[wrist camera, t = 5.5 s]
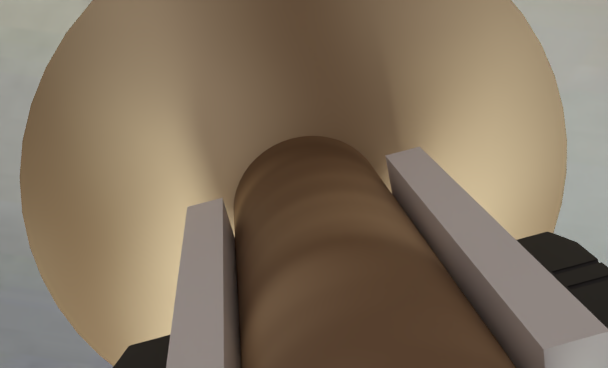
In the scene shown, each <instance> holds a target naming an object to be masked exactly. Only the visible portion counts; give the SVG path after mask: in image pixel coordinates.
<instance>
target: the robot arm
mask: <svg viewBox="0 0 608 368" xmlns="http://www.w3.org/2000/svg"><path fill="white" fill-rule="evenodd" d="M385 157H386V162H387V168H388V173H389V179H390V184H391V190H392V195H393V196H394V197H395V199H396V200H397V202H398V203H399V204H400V206H401V207H402V209H403V210H404V211H405V213H406V214H407V216H408V217H409V218H410V220H411V221H412V222H413V224H414V225H415V227H416V228H417V229H418V231H419V232H420V234H421V235H422V236H423V238H424V239H425V241H426V242H427V243H428V245H429V246H430V248H431V249H432V250H433V252H434V253H435V255H436V256H437V257H438V259H439V260H440V262H441V263H442V264H443V266H444V267H445V269H446V270H447V271H448V273H449V274H450V276H451V277H452V278H453V280H454V281H455V283H456V284H457V285H458V287H459V288H460V290H461V291H462V292H463V294H464V295H465V297H466V298H467V299H468V301H469V302H470V304H471V305H472V306H473V308H474V309H475V311H476V312H477V313H478V315H479V316H480V318H481V319H482V320H483V322H484V323H485V325H486V326H487V327H488V329H489V330H490V332H491V333H492V334H493V336H494V337H495V339H496V340H497V341H498V343H499V344H500V346H501V347H502V348H503V350H504V351H505V353H506V354H507V355H508V357H509V358H510V359H511V361H512V362H513V364H514V365H515V366H516V368H608V267H607V266H605V265H604V264H603V263H602V262H601V263H599V262H598V259H597V258H596V257H594V256H593V255H592V254H591V253H589V252H588V251H587V250H586V249H584V248H583V247H582V246H581V245H579V244H578V243H577V242H575V241H572V240H569V239H567V238H564V237H561V236H559V235H556V234H553V233H551V232H548V231H547V232H544V233H540V234H536V235H532V236H529V237H525V238H521V239H517V240H516V239H515V238H514V237H512V236H511V235H510V234H509V233H508V232H507V231H506V230H505V229H504V228H503V227H502V226H501V225H500V224H499V223H498V222H497V221H496V220H495V219H494V218H493V217H492V216H491V215H490V214H489V213H488V212H487V211H486V210H485V209H484V208H483V207H482V206H480V205H479V204H478V203H477V202H476V201H475V200H474V199H473V198H472V197H471V196H470V195H469V194H468V193H467V192H466V191H465V190H464V189H463V188H462V187H461V186H460V185H459V184H458V183H457V182H456V181H455V180H454V179H453V178H452V177H451V176H449V175H448V174H447V173H446V172H445V171H444V170H443V169H442V168H441V167H440V166H439V165H438V164H437V163H436V162H435V161H434V160H433V159H432V158H431V157H430V156H429V155H428V154H427V153H426V152H425V151H424V150H423V149H422V148H421V147H416V148H412V149H409V150H405V151H401V152H397V153H393V154H389V155H385ZM113 368H241V350H240V330H239V310H238V290H237V270H236V250H235V237H234V234H233V230H232V227H231V224H230V220H229V217H228V214H227V211H226V207H225V204H224V201H223V198H220V199H216V200H212V201H208V202H204V203H200V204H196V205H193V206H189V207H187V213H186V220H185V228H184V235H183V243H182V250H181V258H180V266H179V273H178V281H177V288H176V296H175V303H174V311H173V318H172V326H171V334H170V335H167V336H163V337H159V338H156V339H152V340H148V341H145V342H141V343H137V344H133V345H130V346H128V348H127V349H126V350H125V352H124V353H123V354H122V356H121V357H120V359H119V360H118V361H117V363H116V364H115V365H114V367H113Z"/></svg>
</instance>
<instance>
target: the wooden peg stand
mask: <svg viewBox="0 0 608 368" xmlns="http://www.w3.org/2000/svg"><path fill="white" fill-rule="evenodd" d="M416 147H421V148H422V149H423V150H424V151H425V152H426V153H427V154H428V155H429V156H430V157H431V158H432V159H433V160H434V161H435V162H436V163H437V164H438V165H439V166H440V167H441V168H442V169H443V170H444V171H445V172H446V173H447V174H448V175H449V176H451V177H452V178H453V179H454V180H455V181H456V182H457V183H458V184H459V185H460V186H461V187H462V188H463V189H464V190H465V191H466V192H467V193H468V194H469V195H470V196H471V197H472V198H473V199H474V200H475V201H476V202H477V203H478V204H479V205H480V206H482V207H483V208H484V209H485V210H486V211H487V212H488V213H489V214H490V215H491V216H492V217H493V218H494V219H495V220H496V221H497V222H498V223H499V224H500V225H501V226H502V227H503V228H504V229H505V230H506V231H507V232H508V233H509V234H510V235H511V236H512V237H514V238H515V239H516V240H517V239H521V238H525V237H529V236H532V235H536V234H540V233H544V232H547V231H548V232H551V233H553V232H554V229H555V225H556V222H557V218H558V215H559V211H560V208H561V204H562V198H563V191H564V184H565V178H566V159H567V138H566V129H565V121H564V112H563V106H562V102H561V98H560V95H559V91H558V87H557V83H556V79H555V76H554V73H553V71H552V69H551V66H550V64H549V62H548V59H547V57H546V55H545V52H544V50H543V47H542V45H541V43H540V42H539V40H538V38H537V37H536V35H535V33H534V32H533V30H532V29H531V27H530V25H529V24H528V22H527V20H526V19H525V17H524V15H523V14H522V13H521V12H520V10H519V9H518V8H517V7H516V6H515V4H514V3H513V2H512V1H511V0H93V1H92V2H91V3H90V4H89V6H88V7H87V8H86V9H85V11H84V12H83V13H82V14H81V16H80V17H79V18H78V19H77V20H76V22H75V23H74V24H73V25H72V27H71V28H70V29H69V30H68V32H67V33H66V34H65V36H64V38H63V39H62V41H61V43H60V45H59V46H58V48H57V50H56V51H55V53H54V55H53V57H52V58H51V60H50V62H49V63H48V65H47V67H46V69H45V71H44V74H43V76H42V79H41V81H40V84H39V86H38V89H37V91H36V94H35V96H34V99H33V101H32V104H31V108H30V112H29V116H28V120H27V125H26V129H25V133H24V137H23V143H22V156H21V169H20V187H21V201H22V214H23V218H24V222H25V227H26V231H27V236H28V240H29V245H30V248H31V251H32V253H33V256H34V259H35V261H36V264H37V266H38V269H39V272H40V274H41V277H42V279H43V281H44V283H45V284H46V286H47V288H48V290H49V292H50V293H51V295H52V297H53V299H54V301H55V302H56V304H57V306H58V308H59V309H60V310H61V312H62V313H63V314H64V316H65V317H66V318H67V320H68V321H69V322H70V324H71V325H72V326H73V328H74V329H75V330H76V331H77V333H78V334H79V335H80V336H81V337H82V338H83V339H84V340H85V341H86V342H87V343H88V344H89V345H90V346H91V347H92V348H93V349H94V350H95V351H96V352H97V353H98V354H99V355H100V356H101V357H102V358H104V359H105V360H106V361H108V362H109V363H110V364H111V365H113V366H114V365H115V364H116V363H117V361H118V360H119V359H120V357H121V356H122V354H123V353H124V352H125V350H126V349H127V348H128V346H130V345H133V344H137V343H141V342H145V341H148V340H152V339H156V338H159V337H163V336H167V335H170V334H171V326H172V318H173V311H174V303H175V296H176V288H177V281H178V273H179V266H180V258H181V250H182V243H183V235H184V228H185V220H186V213H187V207H189V206H193V205H196V204H200V203H204V202H208V201H212V200H216V199H220V198H223V201H224V204H225V207H226V211H227V214H228V217H229V220H230V224H231V227H232V230H233V234H234V237H235V250H236V270H237V290H238V310H239V330H240V350H241V368H516V366H515V365H514V364H513V362H512V361H511V359H510V358H509V357H508V355H507V354H506V353H505V351H504V350H503V348H502V347H501V346H500V344H499V343H498V341H497V340H496V339H495V337H494V336H493V334H492V333H491V332H490V330H489V329H488V327H487V326H486V325H485V323H484V322H483V320H482V319H481V318H480V316H479V315H478V313H477V312H476V311H475V309H474V308H473V306H472V305H471V304H470V302H469V301H468V299H467V298H466V297H465V295H464V294H463V292H462V291H461V290H460V288H459V287H458V285H457V284H456V283H455V281H454V280H453V278H452V277H451V276H450V274H449V273H448V271H447V270H446V269H445V267H444V266H443V264H442V263H441V262H440V260H439V259H438V257H437V256H436V255H435V253H434V252H433V250H432V249H431V248H430V246H429V245H428V243H427V242H426V241H425V239H424V238H423V236H422V235H421V234H420V232H419V231H418V229H417V228H416V227H415V225H414V224H413V222H412V221H411V220H410V218H409V217H408V216H407V214H406V213H405V211H404V210H403V209H402V207H401V206H400V204H399V203H398V202H397V200H396V199H395V197H394V196H393V195H392V190H391V184H390V179H389V173H388V168H387V162H386V157H385V155H389V154H393V153H397V152H401V151H405V150H409V149H412V148H416Z"/></svg>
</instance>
